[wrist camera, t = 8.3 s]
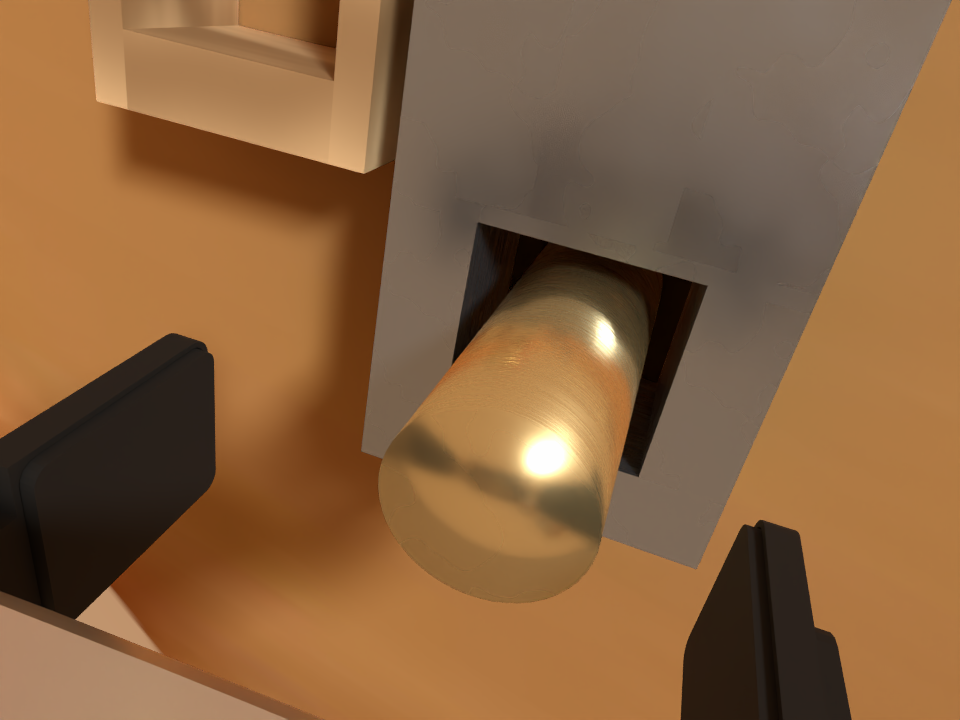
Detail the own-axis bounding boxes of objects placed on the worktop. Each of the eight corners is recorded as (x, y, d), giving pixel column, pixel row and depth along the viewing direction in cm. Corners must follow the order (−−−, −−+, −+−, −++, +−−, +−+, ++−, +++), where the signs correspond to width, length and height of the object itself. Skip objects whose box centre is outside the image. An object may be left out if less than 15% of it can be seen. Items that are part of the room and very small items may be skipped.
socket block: (703, 459, 24) (696, 569, 19) (428, 371, 26) (361, 451, 21) (892, 0, 17) (952, -3, 13) (501, -75, 19) (426, -103, 14)
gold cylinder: (641, 356, 23) (569, 633, 13) (523, 321, 24) (367, 556, 14) (679, 240, 21) (631, 457, 11) (550, 206, 22) (391, 378, 12)
